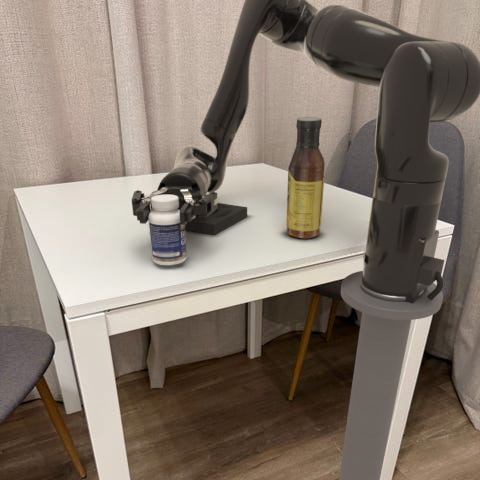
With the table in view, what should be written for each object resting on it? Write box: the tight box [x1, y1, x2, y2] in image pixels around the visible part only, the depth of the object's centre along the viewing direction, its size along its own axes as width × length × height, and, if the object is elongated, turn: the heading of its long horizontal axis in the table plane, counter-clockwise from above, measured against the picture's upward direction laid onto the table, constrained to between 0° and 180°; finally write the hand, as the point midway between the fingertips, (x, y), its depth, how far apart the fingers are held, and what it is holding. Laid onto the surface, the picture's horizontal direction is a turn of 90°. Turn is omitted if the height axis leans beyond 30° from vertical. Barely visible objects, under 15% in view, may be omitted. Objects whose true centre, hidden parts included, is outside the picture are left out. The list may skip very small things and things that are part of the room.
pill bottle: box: [147, 195, 188, 266], centre depth 73 cm, size 5×5×10 cm
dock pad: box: [185, 202, 248, 236], centre depth 95 cm, size 13×13×2 cm
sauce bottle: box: [285, 116, 326, 240], centre depth 83 cm, size 7×6×20 cm
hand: (162, 217), depth 69 cm, fingers closed on pill bottle, 5 cm apart
